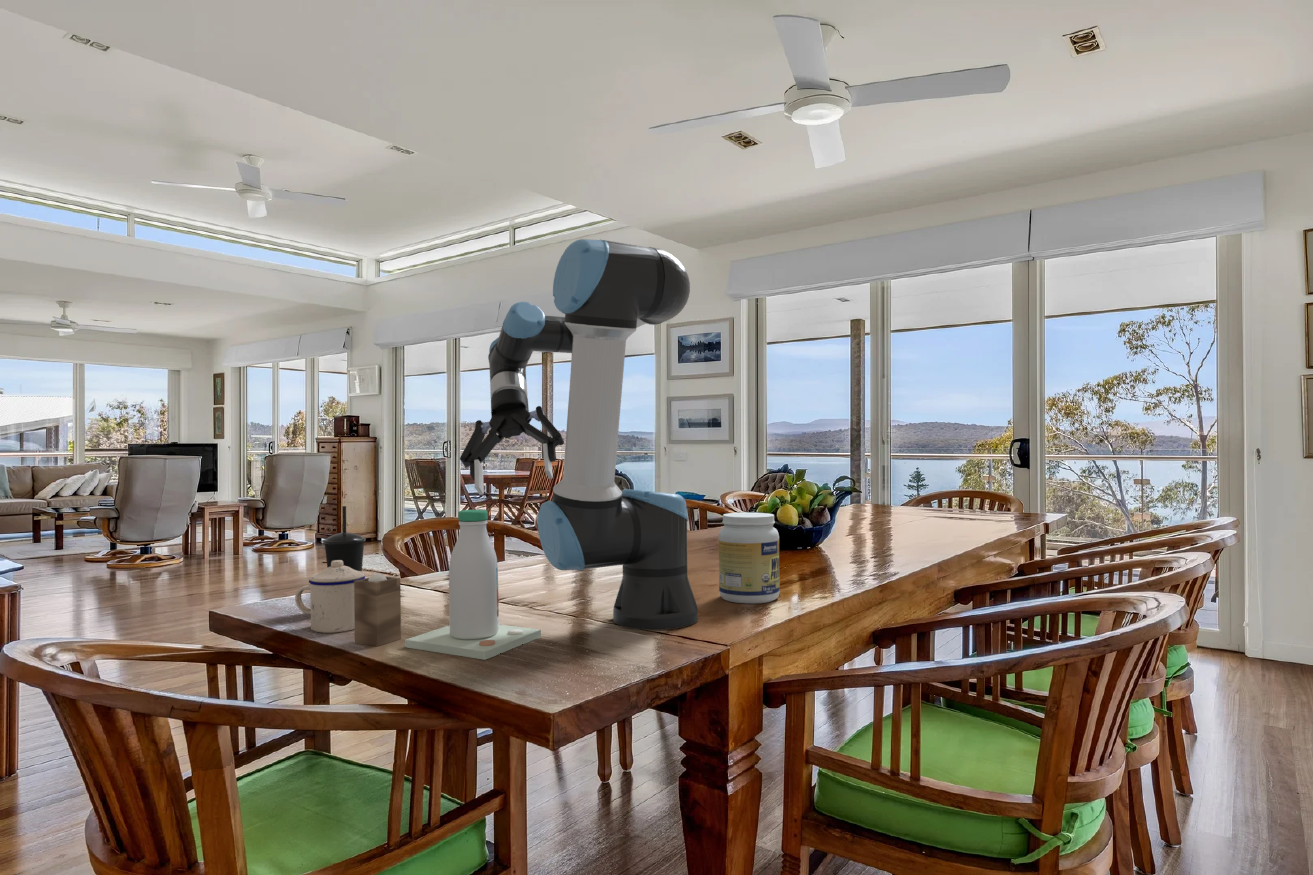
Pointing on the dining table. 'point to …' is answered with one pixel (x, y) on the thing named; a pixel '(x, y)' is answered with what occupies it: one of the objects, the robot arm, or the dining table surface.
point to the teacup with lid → (331, 598)
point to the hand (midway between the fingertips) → (514, 483)
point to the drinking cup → (345, 547)
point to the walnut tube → (377, 611)
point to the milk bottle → (473, 580)
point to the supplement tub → (749, 558)
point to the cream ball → (377, 577)
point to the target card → (473, 642)
